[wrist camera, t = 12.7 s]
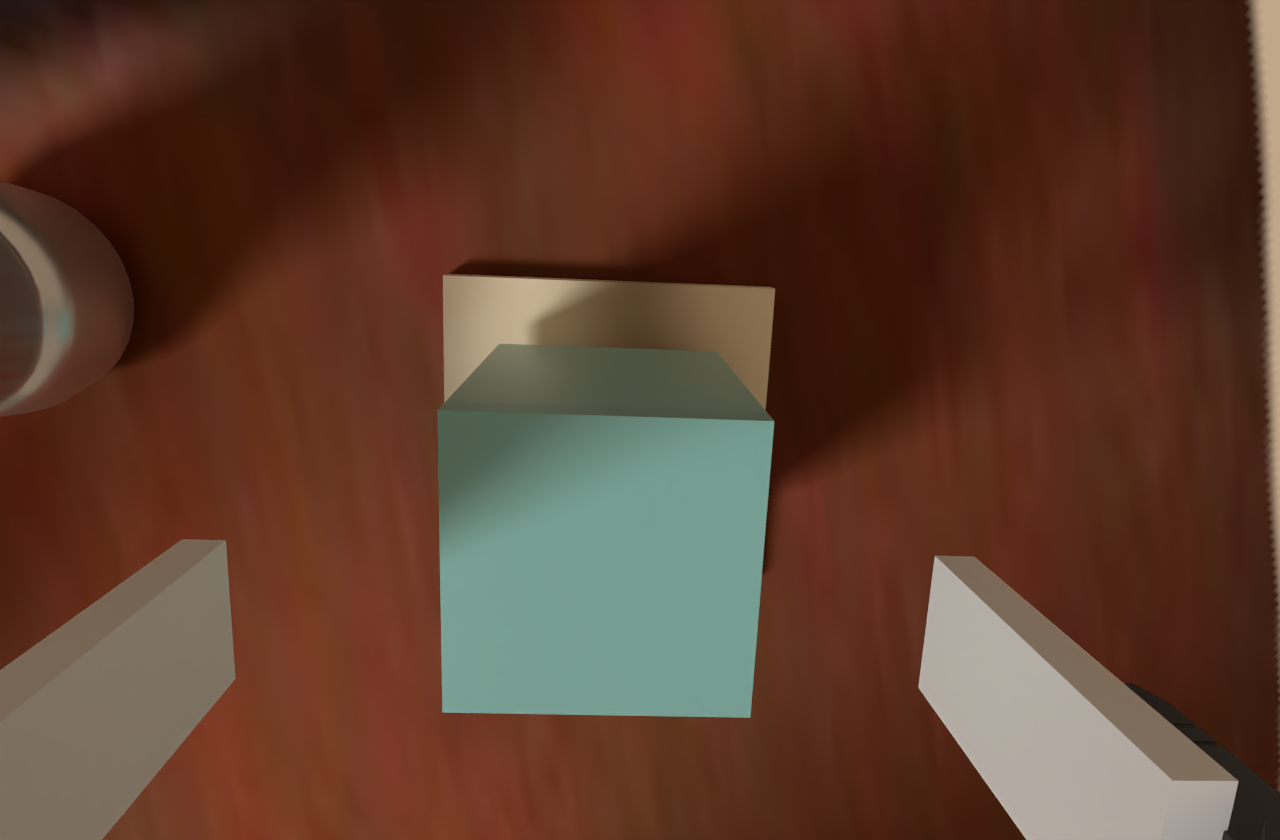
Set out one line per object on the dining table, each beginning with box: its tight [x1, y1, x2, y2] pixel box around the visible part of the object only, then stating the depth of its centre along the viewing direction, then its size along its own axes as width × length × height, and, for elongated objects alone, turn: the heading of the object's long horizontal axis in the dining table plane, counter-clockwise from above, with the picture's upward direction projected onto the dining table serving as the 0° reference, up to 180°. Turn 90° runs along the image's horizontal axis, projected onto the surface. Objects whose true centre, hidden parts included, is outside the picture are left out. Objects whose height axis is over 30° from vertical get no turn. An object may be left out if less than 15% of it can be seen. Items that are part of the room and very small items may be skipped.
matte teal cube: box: [438, 344, 774, 718], centre depth 21 cm, size 6×6×9 cm
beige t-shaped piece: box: [443, 274, 775, 410], centre depth 22 cm, size 10×10×10 cm
